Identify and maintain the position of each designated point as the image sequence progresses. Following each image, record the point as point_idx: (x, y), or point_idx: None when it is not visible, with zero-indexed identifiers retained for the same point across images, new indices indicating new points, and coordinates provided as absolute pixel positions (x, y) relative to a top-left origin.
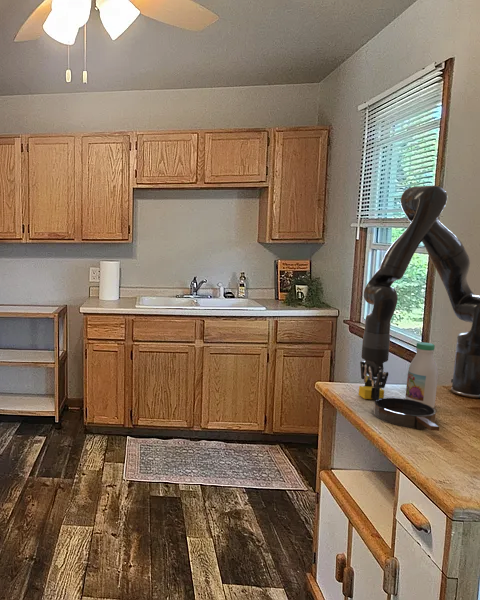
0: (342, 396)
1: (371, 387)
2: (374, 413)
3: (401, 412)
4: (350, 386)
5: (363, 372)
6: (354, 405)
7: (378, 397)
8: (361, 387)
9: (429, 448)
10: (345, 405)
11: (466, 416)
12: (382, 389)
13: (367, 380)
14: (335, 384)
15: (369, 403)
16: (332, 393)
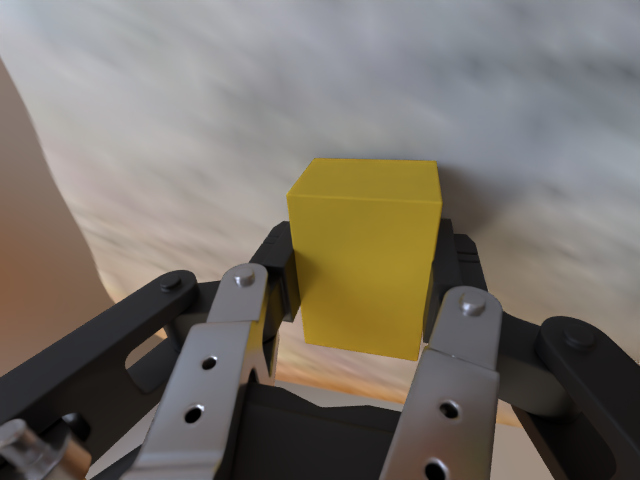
0: (349, 364)
1: (332, 276)
2: None
3: None
4: (129, 234)
5: (154, 394)
6: None
7: (468, 240)
8: (343, 348)
9: None
10: (512, 425)
11: None
12: (399, 203)
13: (268, 334)
14: (129, 294)
15: (502, 302)
16: (302, 378)
